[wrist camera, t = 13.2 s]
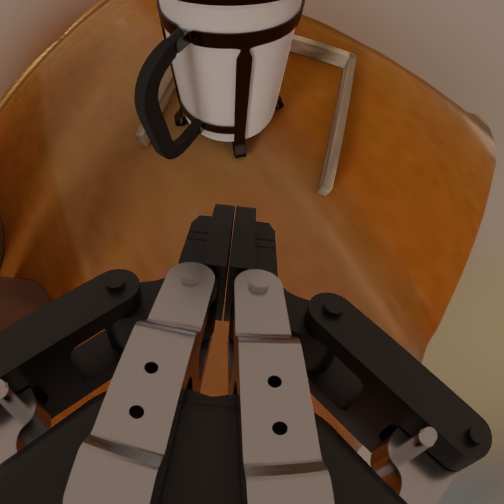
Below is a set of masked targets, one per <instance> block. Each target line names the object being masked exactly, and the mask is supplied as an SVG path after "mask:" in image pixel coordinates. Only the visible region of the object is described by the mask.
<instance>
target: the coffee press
mask: <svg viewBox="0 0 504 504" xmlns="http://www.w3.org/2000/svg"><path fill="white" fill-rule="evenodd" d="M304 2H305V0H157V8H158V12H159V17H160V22H161V26H162V31H163V36H164V40H163V41H162V42H160V43H159V44H158V45H157V46H156V48H155V49H154V50H153V51H152V52H151V54H150V55H149V56H148V58H147V59H146V61H145V63H144V64H143V66H142V68H141V70H140V73H139V75H138V78H137V82H136V87H135V107H136V111H137V114H138V116H139V119H140V121H141V124H142V126H143V128H144V130H145V132H146V134H147V136H148V138H149V140H150V142H151V144H152V146H153V147H154V149H155V151H156V152H157V153H158V154H160V155H161V156H163V157H165V158H167V159H174V158H176V157H178V156H179V155H181V154H182V153H183V152H184V151H185V150H186V149H187V148H188V147H189V146H190V145H191V143H192V142H193V141H194V140H195V139H196V137H197V136H198V135H199V134H202V135H204V136H206V137H208V138H210V139H213V140H217V141H224V142H232V143H233V150H234V155H235V158H240V157H246V150H245V139H247V138H250V137H252V136H254V135H256V134H257V133H259V132H260V131H262V130H263V129H264V128H265V127H266V126H267V125H268V123H269V122H270V121H271V119H272V117H273V114H274V111H275V109H280V108H282V107H283V106H284V105H283V102H282V99H281V97H280V96H279V92H280V88H281V84H282V80H283V76H284V72H285V68H286V64H287V59H288V55H289V51H290V47H291V43H292V39H293V35H294V31H295V27H296V26H297V25H298V23H299V21H300V18H301V15H302V11H303V7H304ZM164 28H165V29H164ZM165 32H166V34H165ZM166 37H167V39H166ZM172 64H173V65H172ZM169 65H170V66H171V70H172V74H173V78H174V82H175V87H176V91H177V95H178V99H179V103H180V109H179V111H178V112H177V113H176V114H175V115H174V117H175V124H176V125H177V126H183V125H185V124H187V123H188V122H189V124H190V125H189V126H188V127H187V129H186V130H185V131H184V132H183V133H182V134H181V135H180V136H179V137H178V138H177V139H176V140H174V141H172V139H171V136H170V133H169V130H168V128H167V125H166V122H165V119H164V116H163V114H162V111H161V108H160V104H159V100H158V91H159V86H160V82H161V79H162V77H163V75H164V73H165V71H166V69H167V68H168V66H169ZM173 68H174V70H173ZM174 73H175V74H174ZM175 77H176V78H175ZM176 81H177V83H176ZM177 86H178V87H177ZM178 90H179V91H178ZM179 94H180V96H179ZM180 98H181V100H180ZM277 100H278V101H277ZM181 102H182V103H181ZM182 110H183V112H184V114H185V116H183V117H182V115H183V112H182Z"/></svg>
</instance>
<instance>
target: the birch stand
mask: <svg viewBox="0 0 504 504" xmlns="http://www.w3.org/2000/svg"><path fill="white" fill-rule="evenodd" d="M290 51H291V52H295V53H298V54H302V55H305V56H308V57H312V58H315V59H318V60H321V61H324V62H327V63H330V64H333V65H336V66H339V67H341V68H343V73H342V78H341V83H340V89H339V94H338V99H337V104H336V109H335V114H334V118H333V123H332V128H331V133H330V137H329V142H328V147H327V151H326V156H325V160H324V165H323V169H322V173H321V178H320V182H319V186H318V190H317V193H318V194H321V195H324V196H326V195H327V194H328V193H329V192H330V191H331V190H332V189H333V184H334V180H335V175H336V170H337V165H338V160H339V155H340V150H341V145H342V140H343V135H344V130H345V124H346V119H347V113H348V107H349V102H350V96H351V90H352V84H353V77H354V71H355V64H356V57H357V55H355V54H353V53H350V52H347V51H345V50H342V49H339V48H336V47H333V46H330V45H327V44H324V43H321V42H318V41H315V40H311V39H308V38H305V37H301V36H298V35H293V39H292V43H291V47H290ZM172 65H173V64H172ZM173 70H174V68H173ZM174 74H175V73H174ZM175 78H176V77H175ZM176 83H177V81H176ZM175 89H176V87H175V82H174V78H173V74H172V70H171V66H170V67H169V69H168V70H167V72H166V74H165V76H164V77H163V79H162V81H161V83H160V86H159V91H158V100H159V104H160V108H161V111H162V114H163V113H164V111H165V109H166V107H167V104H168V102H169V100H170V98H171V96H172V94H173V93H174V91H175ZM134 135H135V137H136V139H137V140H138V142H139V144H140V145H143V146H147V147H148V145H149V143H150V140H149V138H148V136H147V134H146V132H145V130H144V128H143V126H142V124H141V122H140V124H139V126H138V128H137V130H136V132H135V134H134Z"/></svg>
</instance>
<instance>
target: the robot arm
mask: <svg viewBox="0 0 504 504" xmlns="http://www.w3.org/2000/svg"><path fill="white" fill-rule="evenodd" d="M234 210H235V206H230V205H221V204H215V208H214V212H213V216H212V217H210V216H199V217H198V218H196V219H195V220H194V221H193V222H192V223H191V226H190V229H189V233H188V235H187V239H186V241H185V244H184V247H183V250H182V254H181V257H180V260H179V263H178V265H176V266H174V267H172V268H171V269H170V270H169V272H168V273H167V276H166V278H163V279H160V280H156V281H149V282H140V283H139V279H138V277H137V276H136V275H135V274H134V273H132V272H130V271H128V270H123V269H115V270H110V271H107V272H105V273H103V274H101V275H99V276H97V277H95V278H93V279H92V280H90V281H88V282H86V283H84V284H82V285H80V286H79V287H77V288H75V289H73V290H71V291H69V292H68V293H66V294H64V295H62V296H60V297H59V298H57V299H55V300H53V301H52V302H51V301H50V298H49V296H48V294H47V292H46V291H45V289H44V288H43V287H42V286H41V285H40V284H39V283H37V282H35V281H33V280H27V279H19V278H11V277H3V276H0V504H437V502H438V501H439V499H440V498H441V497H442V495H443V494H444V492H445V491H446V489H447V488H448V486H449V485H450V484H451V482H452V480H453V479H454V477H455V476H456V474H457V473H458V472H459V471H460V470H462V469H464V468H466V467H467V466H469V465H471V464H473V463H474V462H476V461H477V460H479V459H481V458H482V457H484V456H485V455H486V454H487V453H488V451H489V450H490V447H491V443H492V435H491V430H490V428H489V426H488V424H487V423H486V421H485V420H484V419H483V418H482V417H481V416H480V415H478V414H477V413H476V412H475V411H474V410H473V409H472V408H471V407H470V406H469V405H467V404H466V403H465V402H464V401H463V400H462V399H461V398H459V396H457V395H456V394H455V393H454V392H453V391H452V390H451V389H449V388H448V387H447V386H446V385H445V384H444V383H443V382H442V381H440V380H439V379H438V378H437V377H436V376H435V375H434V374H432V373H431V372H430V371H429V370H428V369H427V368H426V367H425V366H423V365H422V364H421V363H420V362H419V361H418V360H417V359H415V358H414V357H413V356H412V355H411V354H410V353H408V352H407V351H406V350H405V349H404V348H403V347H402V346H400V345H399V344H398V343H397V342H396V341H395V340H393V339H392V338H391V337H390V336H389V335H388V334H386V333H385V332H384V331H383V330H382V329H381V328H379V327H378V326H377V325H376V324H375V323H373V322H372V321H371V320H370V319H369V318H368V317H366V316H365V315H364V314H363V313H362V312H361V311H359V310H358V309H357V308H356V307H355V306H353V305H352V304H351V303H350V302H349V301H347V300H346V299H345V298H343V297H341V296H339V295H336V294H333V293H320V294H317V295H315V296H314V297H312V298H311V300H310V301H309V300H306V299H303V298H300V297H297V296H295V295H293V294H291V293H289V292H288V291H286V290H285V289H284V288H283V286H282V283H281V281H280V280H279V278H278V273H277V258H276V243H275V231H274V230H273V228H272V227H271V226H270V224H269V223H264V222H256V208H248V207H240V206H237V207H236V215H235V222H234V230H233V238H232V229H233V220H234ZM231 239H232V246H231ZM230 248H231V254H230ZM229 257H230V262H229ZM228 265H229V271H228ZM227 273H228V282H227V292H226V302H225V313H224V321H229V322H230V324H229V335H228V395H225V396H217V397H211V396H207V395H204V394H201V393H200V390H201V384H202V379H203V375H204V371H205V366H206V362H207V357H208V353H209V349H210V344H211V340H212V334H213V332H214V327H215V320H219V321H222V314H223V306H224V297H225V289H226V281H227ZM103 329H105V330H104V331H103V332H101V333H99V334H98V335H96V336H95V337H93V338H91V339H90V340H88V341H87V342H85V343H83V344H82V345H80V346H78V345H79V344H81V343H82V342H84V341H86V340H87V339H89V338H90V337H92V336H94V335H95V334H97V333H98V332H100V331H102V330H103ZM76 346H78V347H77V348H75V347H76ZM74 348H75V349H74ZM73 349H74V350H73ZM110 379H112V380H111V383H110V385H109V388H108V390H107V391H106V392H103V393H101V394H99V395H97V396H95V397H94V398H92V399H91V400H89V401H88V402H87V403H85V404H84V405H82V406H81V407H80V408H78V409H77V410H76V411H74V412H73V413H71V414H70V415H69V416H67V417H66V418H64V419H63V420H62V421H60V422H59V423H58V424H56V425H55V426H53V427H52V428H51V429H50V427H51V419H52V418H53V417H55V416H56V415H58V414H59V413H61V412H62V411H64V410H65V409H67V408H68V407H70V406H71V405H73V404H74V403H76V402H77V401H79V400H80V399H82V398H83V397H85V396H86V395H88V394H89V393H91V392H92V391H94V390H95V389H97V388H98V387H100V386H101V385H103V384H104V383H106V382H107V381H109V380H110ZM310 393H311V394H312V395H313V396H314V397H315V398H316V399H317V400H318V401H319V402H320V403H321V404H322V405H323V406H324V407H325V408H326V409H327V410H328V411H329V412H330V413H331V414H332V415H333V416H334V417H335V418H336V419H337V420H338V421H339V422H340V423H341V424H342V425H343V426H344V427H345V428H346V429H347V430H348V431H349V432H350V433H351V434H352V435H353V436H354V437H355V438H356V439H357V440H358V441H359V442H360V443H362V444H363V445H364V446H365V447H366V448H367V449H368V450H369V451H370V452H371V453H372V454H371V467H370V466H369V465H368V464H367V463H366V462H365V461H364V460H363V458H362V457H361V456H359V454H358V453H357V452H356V451H355V450H354V449H353V448H352V447H351V446H350V445H349V444H348V443H347V442H346V441H345V440H344V439H343V438H342V437H341V435H340V434H339V433H338V432H337V431H336V430H335V429H334V428H333V427H332V426H331V425H330V424H329V423H328V422H327V421H325V420H324V419H323V418H322V417H320V416H319V415H317V414H316V413H314V411H313V405H312V399H311V394H310Z"/></svg>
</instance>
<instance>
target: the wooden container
mask: <svg viewBox="0 0 504 504" xmlns="http://www.w3.org/2000/svg"><path fill="white" fill-rule="evenodd" d="M3 251H4V231H3V225H2V221H1V218H0V266H1V262H2V258H3Z"/></svg>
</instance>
